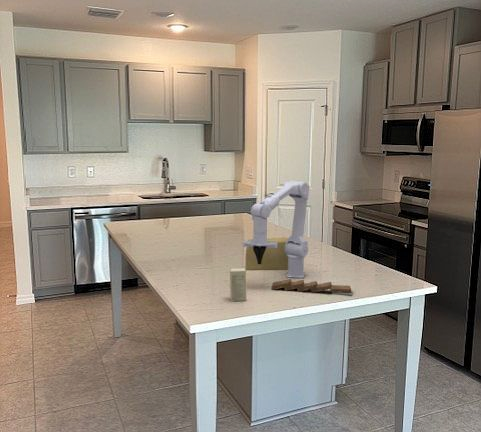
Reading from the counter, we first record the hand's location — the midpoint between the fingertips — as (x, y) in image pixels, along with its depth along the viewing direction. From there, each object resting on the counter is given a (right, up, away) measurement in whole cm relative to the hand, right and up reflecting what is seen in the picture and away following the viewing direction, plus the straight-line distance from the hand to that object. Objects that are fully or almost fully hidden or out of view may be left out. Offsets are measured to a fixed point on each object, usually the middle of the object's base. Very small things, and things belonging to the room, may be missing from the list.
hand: (259, 263), depth 205 cm
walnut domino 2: (+11, -10, 0) cm, 15 cm away
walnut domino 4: (+22, -10, -3) cm, 24 cm away
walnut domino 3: (+16, -10, -2) cm, 19 cm away
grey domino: (+30, -12, -4) cm, 33 cm away
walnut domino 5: (+29, -10, -4) cm, 31 cm away
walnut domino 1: (+6, -10, +1) cm, 11 cm away
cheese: (+5, -6, +31) cm, 32 cm away
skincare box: (-9, -13, -14) cm, 21 cm away
